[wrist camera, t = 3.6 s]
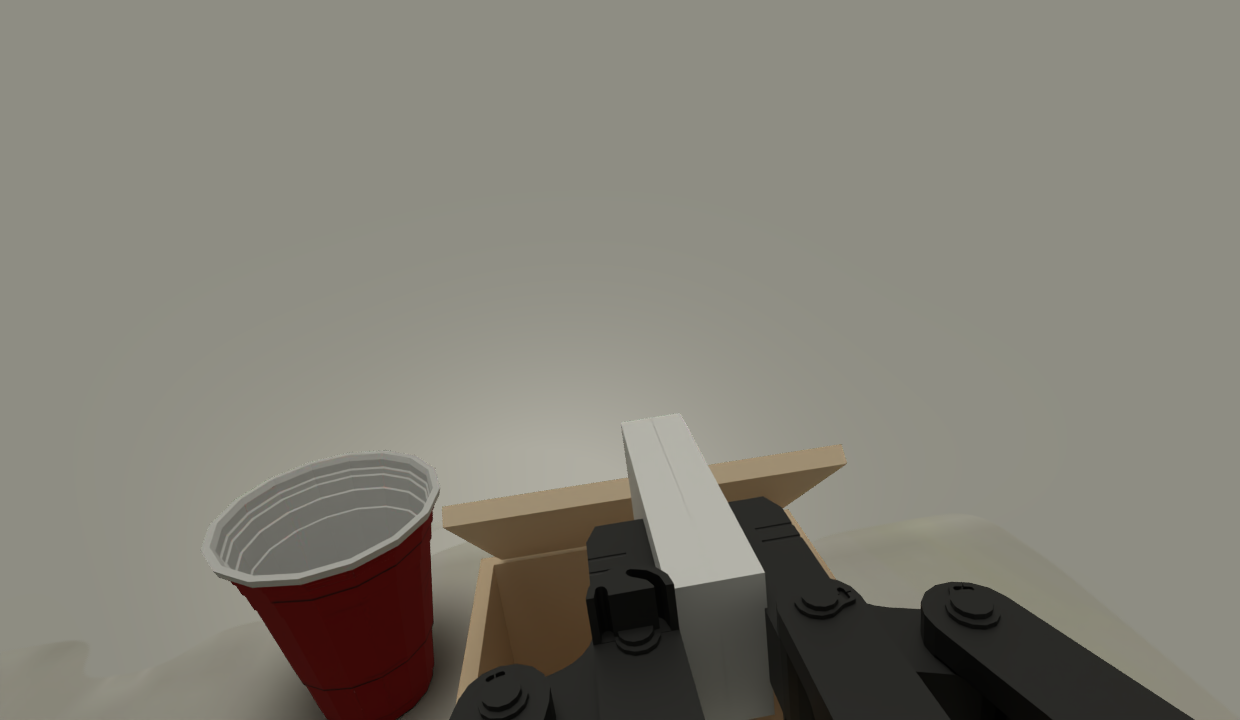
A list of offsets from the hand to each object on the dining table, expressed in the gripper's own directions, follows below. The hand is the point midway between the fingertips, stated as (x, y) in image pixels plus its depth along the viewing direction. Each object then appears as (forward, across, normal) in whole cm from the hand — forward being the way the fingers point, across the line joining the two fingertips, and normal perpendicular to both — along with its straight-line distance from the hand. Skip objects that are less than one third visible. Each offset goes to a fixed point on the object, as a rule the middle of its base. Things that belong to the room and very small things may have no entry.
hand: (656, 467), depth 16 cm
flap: (+10, 0, -8) cm, 13 cm away
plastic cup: (+15, -15, -19) cm, 28 cm away
